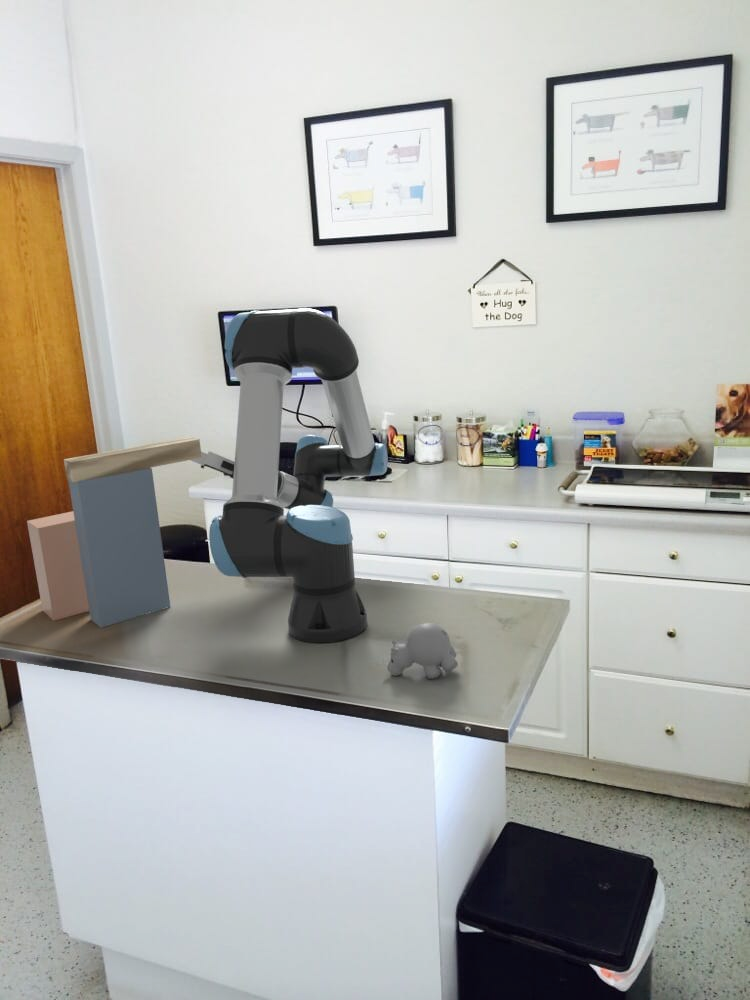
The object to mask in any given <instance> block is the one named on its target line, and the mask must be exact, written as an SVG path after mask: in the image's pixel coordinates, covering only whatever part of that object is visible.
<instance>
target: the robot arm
mask: <svg viewBox="0 0 750 1000" xmlns="http://www.w3.org/2000/svg"><path fill="white" fill-rule="evenodd" d="M224 349H225V354H224V355H225V360H226V363H227V366H228V367H229V368H230V369H231V370H232V371H233V375H234V377H235V378H236V379H237V380H238V381H239V382H240V383H239V384H240V386H239V387H240V389H239V399H238V414H237V426H236V428H237V429H236V441H235V453H234V461H233V460H231V459H230V458H227V457H224V456H221V455H219V454H217V453H214V452H213V451H209V450H208V452H207V453H205V452H203V451H201V455H202V458H198V459H193V460H190V461H191V462H194V463H196V464H199V465H200V468H201V469H205V467H206V468H210V469H212V470H215V471H216V472H220V473H222V474H225V475H228V476H229V478H231V479H232V492H231V493H232V495H231V497H230V499H228V500H227V501H226V502H225V503H223V505H222V515H221V514H220V515H217V516H215V517H213V518H212V521H211V524H210V526H209V530H208V531H209V534H208V535H209V547H210V552H211V557H212V559H213V562H214V564H215V567H216V568H217V570H218V571H219V572H220V573H221V574H223V575H224V576H227V577H233V578H234V577H236V578H243V579H246V578H250V577H251V578H254V577H255V578H259V577H260V578H264V577H265V578H292V581H293V590H294V591H293V596H292V601H291V605H290V610H289V615H288V618H287V624H288V625H287V628H288V633H289V634H290V636H292V638H295V639H296V640H299V641H303V642H307V643H318V644H322V643H323V644H324V643H334V642H339V641H343V640H348V639H350V638H353V636H354V637H356V636H358V635H360V634H362V633H363V632H364V631H365V630H366V628H367V626H368V615H367V611H366V608H365V605H364V603H363V601H362V598H361V596H360V594H359V592H358V589H357V586H356V579H355V578H356V577H355V562H354V550H353V539H354V537H353V534H352V529H351V522H350V518H349V516H348V515H347V514H346V513H345V512H343V511H342V510H341V509H338V508H336V507H333V506H334V498H333V494H332V493H331V492H330V491H328V489H325V480H326V477H327V478H329V477H371V476H372V477H373V476H382V475H384V474H385V473H386V472H387V470H388V466H389V465H388V463H389V462H388V461H389V460H388V459H389V457H388V449H387V446H386V445H385V444H384V443H378V442H375V440H374V435H373V431H372V427H371V423H370V419H369V416H368V411H367V408H366V404H365V403H366V402H365V400H364V396H363V392H362V388H361V385H360V379H359V375H358V372H357V369H358V367H359V365H360V361H359V357H358V352H357V349H356V347H355V344H354V342H353V340H352V338H351V337H350V335H349V334H348V333H347V331H345V329H344V328H343V327H342V326H341V325H340V324H339V323H338V322H337V321H336V320H335V319H333V318H332V317H331V316H329V315H328V314H327V313H324V312H322V311H320V310H317V309H313V308H310V307H309V308H307V307H304V308H303V307H300V308H293V309H289V308H288V309H277V310H276V309H275V310H257V309H255V310H252V311H250V312H249V311H247V312H240V313H238V314H236V315H235V316H233V318H231V320H230V322H229V324H228V326H227V329H226V333H225V338H224ZM299 368H300V369H301V368H311V369H313V373H314V375H315V376H316V378H318V379H319V380H321V383H322V386H323V389H324V393H325V396H326V398H327V402H328V406H329V409H330V412H331V416H332V417H333V422H334V425H335V428H336V431H337V434H338V438H339V441H340V444H329V442H328V440H327V439H326V438H325V437H323V436H321V435H315V434H307V435H303V436H302V437H300V438H299V440H297V444H296V450H295V453H294V465H293V466H294V467H293V475H291V474H288V473H287V472H284V471H280V470H279V465H280V450H281V449H280V448H281V435H282V418H283V416H282V415H283V402H284V387H285V386H286V385H287V384H289V383H290V382H291V381H292V377H293V369H299ZM285 509H286V510H288V511H287V513H286V515H285V513H284V512H285ZM364 629H365V630H364ZM363 630H364V631H363Z"/></svg>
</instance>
